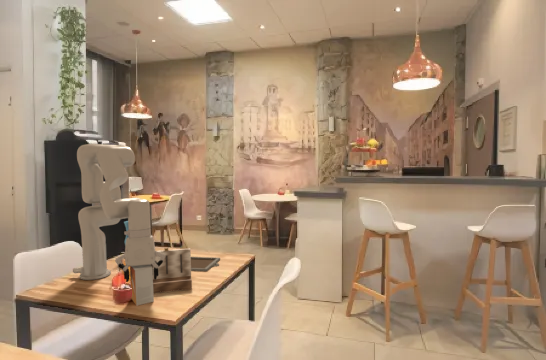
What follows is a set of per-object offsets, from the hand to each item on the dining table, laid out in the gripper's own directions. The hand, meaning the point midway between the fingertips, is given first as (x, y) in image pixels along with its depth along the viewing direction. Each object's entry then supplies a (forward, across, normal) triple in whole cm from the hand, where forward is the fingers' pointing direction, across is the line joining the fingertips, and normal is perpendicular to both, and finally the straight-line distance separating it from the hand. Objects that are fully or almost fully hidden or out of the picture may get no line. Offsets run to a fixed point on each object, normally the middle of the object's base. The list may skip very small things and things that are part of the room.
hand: (141, 279), depth 126 cm
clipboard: (+8, +18, +41) cm, 46 cm away
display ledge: (+8, +8, +13) cm, 17 cm away
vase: (+7, -10, +62) cm, 63 cm away
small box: (+8, 0, 0) cm, 8 cm away
